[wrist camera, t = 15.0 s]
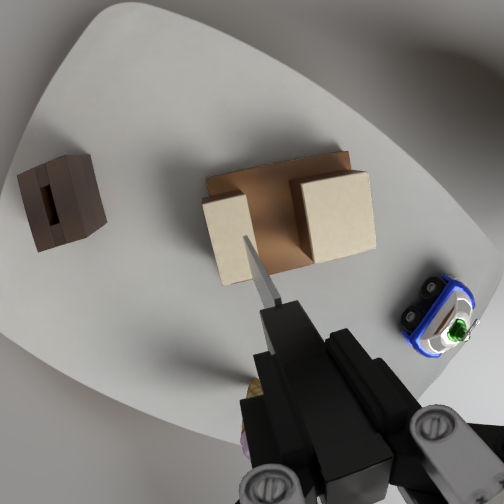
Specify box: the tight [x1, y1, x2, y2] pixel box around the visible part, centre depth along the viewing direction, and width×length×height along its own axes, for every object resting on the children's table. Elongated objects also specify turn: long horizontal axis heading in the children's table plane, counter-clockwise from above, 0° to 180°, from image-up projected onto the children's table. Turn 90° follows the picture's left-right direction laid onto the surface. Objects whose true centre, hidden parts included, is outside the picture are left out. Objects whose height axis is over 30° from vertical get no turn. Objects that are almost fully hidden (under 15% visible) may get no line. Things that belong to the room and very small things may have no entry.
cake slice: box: [202, 189, 259, 286], centre depth 32 cm, size 8×4×5 cm, turn 12°
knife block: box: [17, 155, 107, 252], centre depth 29 cm, size 8×6×7 cm
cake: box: [289, 169, 376, 264], centre depth 33 cm, size 8×7×5 cm
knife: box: [243, 235, 395, 504], centre depth 14 cm, size 3×2×18 cm, turn 12°
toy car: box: [401, 274, 480, 358], centre depth 40 cm, size 9×12×10 cm
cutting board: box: [206, 151, 351, 284], centre depth 36 cm, size 12×16×2 cm
